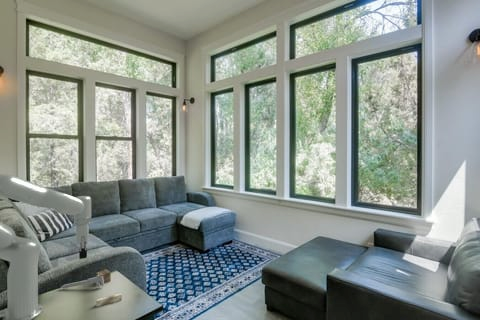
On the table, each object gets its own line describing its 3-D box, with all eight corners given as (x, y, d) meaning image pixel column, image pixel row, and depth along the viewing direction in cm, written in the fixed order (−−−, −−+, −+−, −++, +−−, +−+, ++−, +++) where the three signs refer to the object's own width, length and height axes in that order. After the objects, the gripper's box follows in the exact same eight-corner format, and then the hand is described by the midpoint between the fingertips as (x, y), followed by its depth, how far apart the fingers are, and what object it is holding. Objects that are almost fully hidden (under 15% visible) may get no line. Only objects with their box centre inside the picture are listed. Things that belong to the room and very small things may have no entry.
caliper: (103, 286, 129) (104, 273, 129) (102, 287, 128) (103, 274, 128) (61, 287, 127) (61, 275, 127) (59, 288, 126) (60, 276, 126)
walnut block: (100, 285, 131) (100, 275, 131) (96, 282, 134) (96, 272, 134) (110, 281, 135) (110, 271, 135) (106, 278, 138) (106, 269, 138)
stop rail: (96, 306, 112) (96, 301, 111) (96, 304, 113) (96, 299, 113) (121, 300, 117) (121, 294, 117) (121, 298, 118) (121, 292, 118)
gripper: (74, 218, 133) (74, 253, 134) (73, 225, 120) (73, 264, 120) (91, 216, 137) (91, 250, 137) (91, 223, 124) (92, 261, 124)
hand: (83, 257), depth 129 cm, fingers closed
